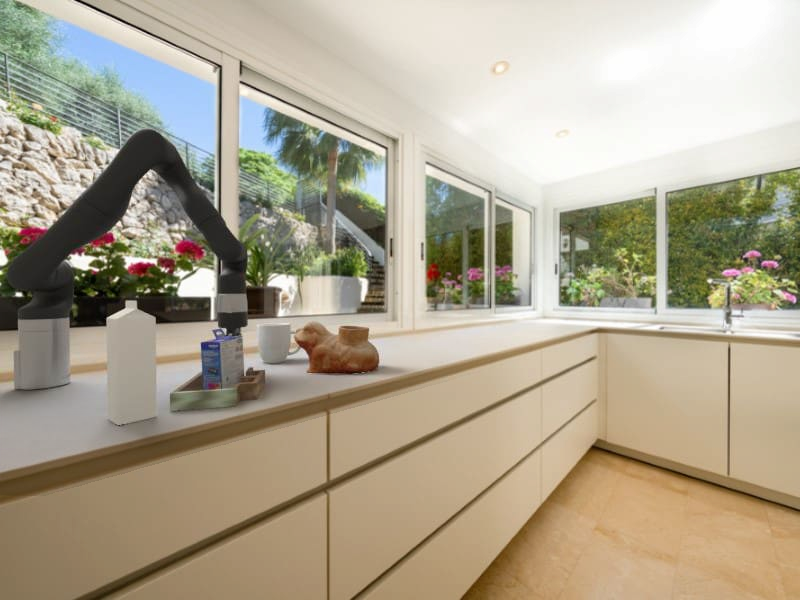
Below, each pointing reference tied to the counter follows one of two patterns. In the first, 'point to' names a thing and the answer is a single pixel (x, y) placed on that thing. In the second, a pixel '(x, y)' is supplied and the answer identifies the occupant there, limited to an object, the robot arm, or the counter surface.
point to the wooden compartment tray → (216, 392)
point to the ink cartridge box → (222, 361)
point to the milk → (131, 365)
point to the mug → (274, 342)
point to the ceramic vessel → (337, 349)
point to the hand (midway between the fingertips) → (233, 372)
